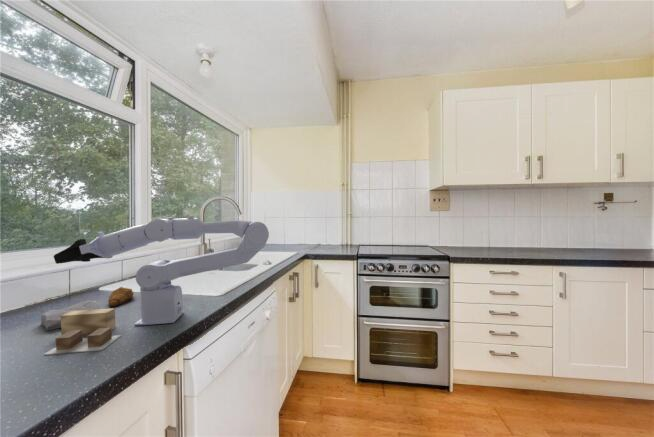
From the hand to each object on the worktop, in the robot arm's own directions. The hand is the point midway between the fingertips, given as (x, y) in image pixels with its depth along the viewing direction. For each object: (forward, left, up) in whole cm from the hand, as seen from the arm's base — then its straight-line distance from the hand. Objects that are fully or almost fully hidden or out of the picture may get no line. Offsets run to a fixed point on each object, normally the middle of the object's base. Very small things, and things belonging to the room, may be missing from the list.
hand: (66, 258), depth 72 cm
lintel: (-7, +3, -18) cm, 19 cm away
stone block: (+2, -5, -18) cm, 19 cm away
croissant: (-1, -22, -18) cm, 28 cm away
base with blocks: (-11, +11, -18) cm, 24 cm away
